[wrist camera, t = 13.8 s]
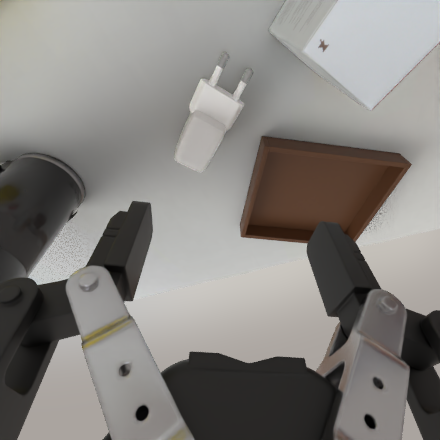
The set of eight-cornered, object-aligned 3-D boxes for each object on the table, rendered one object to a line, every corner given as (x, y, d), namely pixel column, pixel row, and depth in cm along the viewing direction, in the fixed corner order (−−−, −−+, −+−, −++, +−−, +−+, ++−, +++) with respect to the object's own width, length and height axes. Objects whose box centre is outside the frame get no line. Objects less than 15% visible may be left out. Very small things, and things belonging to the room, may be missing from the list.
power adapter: (216, 40, 24) (214, 49, 19) (257, 68, 25) (264, 82, 21) (174, 137, 30) (165, 160, 26) (208, 155, 32) (206, 179, 27)
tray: (239, 225, 40) (240, 237, 38) (261, 136, 30) (264, 146, 28) (344, 235, 42) (351, 247, 39) (399, 153, 31) (412, 164, 29)
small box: (313, 71, 25) (369, 115, 16) (266, 30, 23) (297, 51, 13) (385, -21, 21) (527, -40, 11) (334, -83, 19) (457, -175, 9)
